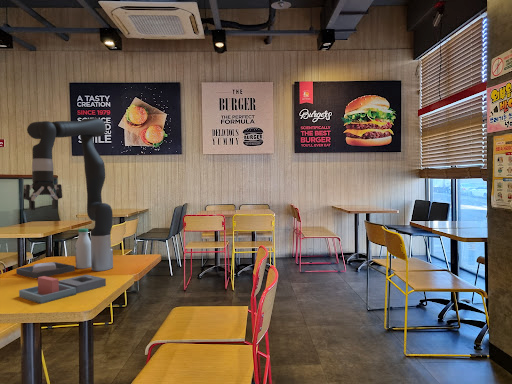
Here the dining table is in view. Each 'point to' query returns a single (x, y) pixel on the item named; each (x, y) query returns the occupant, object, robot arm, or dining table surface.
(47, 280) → the pink block
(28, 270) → the frame
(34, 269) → the charger
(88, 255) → the milk bottle
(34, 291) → the tray
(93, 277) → the grey square-hole plate
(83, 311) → the dining table surface
